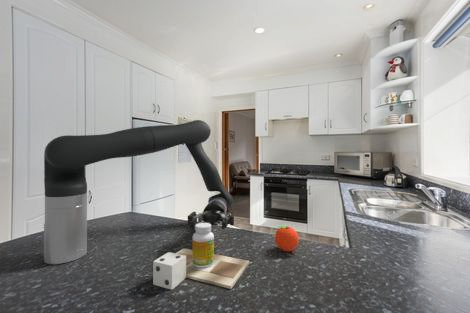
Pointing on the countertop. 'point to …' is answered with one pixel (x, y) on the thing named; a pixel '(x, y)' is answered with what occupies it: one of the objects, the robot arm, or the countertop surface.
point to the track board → (215, 270)
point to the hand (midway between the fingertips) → (207, 225)
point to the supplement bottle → (203, 246)
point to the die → (169, 270)
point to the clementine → (286, 238)
